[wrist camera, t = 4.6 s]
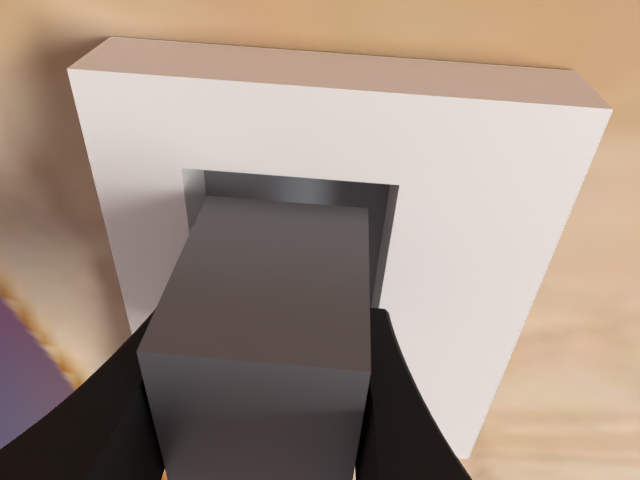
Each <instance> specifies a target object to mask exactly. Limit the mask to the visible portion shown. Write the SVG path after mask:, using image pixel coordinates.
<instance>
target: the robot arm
mask: <svg viewBox="0 0 640 480" xmlns="http://www.w3.org/2000/svg"><path fill="white" fill-rule="evenodd" d="M155 309H156V308H155ZM154 312H155V310H154V311H153V312H152V313H151V314H150V315H149V317H148V318H147V319H146V320H145V321H144V322H143V323H142V324H141V325H140V327H139V328H138V329H137V330H136V331H135V332H134V333H133V334H132V335H131V336H130V337H129V338H128V340H127V341H126V342H125V343H124V344H123V345H122V346H121V347H120V348H119V349H118V350H117V351H116V352H115V353H114V354H113V355H112V356H111V357H110V358H109V359H108V360H107V361H106V362H105V363H104V364H103V365H102V366H101V367H100V368H99V369H98V370H97V371H96V372H95V373H94V374H93V375H92V376H90V377H89V378H88V379H87V380H86V381H85V382H84V383H83V384H82V385H81V386H80V387H79V388H78V389H76V390H75V391H74V392H73V393H72V394H71V395H70V396H68V397H67V398H66V399H65V400H64V401H63V402H62V403H60V404H59V405H58V406H57V407H55V408H54V409H53V410H52V411H51V412H49V413H48V414H47V415H46V416H44V417H43V418H42V419H41V420H39V421H38V422H37V423H35V424H34V425H33V426H31V427H30V428H29V429H27V430H26V431H25V432H23V433H22V434H21V435H19V436H18V437H17V438H16V439H14V440H13V441H11V442H10V443H9V444H7V445H6V446H4V447H3V448H1V449H0V480H161V478H162V475H163V472H164V469H165V466H164V462H163V458H162V454H161V450H160V446H159V442H158V438H157V434H156V430H155V426H154V422H153V418H152V413H151V409H150V405H149V401H148V397H147V393H146V389H145V385H144V381H143V377H142V373H141V369H140V365H139V361H138V357H137V349H138V347H139V345H140V343H141V340H142V338H143V336H144V334H145V332H146V329H147V327H148V325H149V323H150V320H151V318H152V316H153V314H154ZM370 341H371V375H370V381H369V387H368V392H367V398H366V404H365V410H364V416H363V421H362V427H361V433H360V439H359V444H358V450H357V456H356V462H355V471H356V480H472V479H471V477H470V476H469V474H468V473H467V471H466V470H465V468H464V467H463V465H462V464H461V462H460V461H459V459H458V458H457V456H456V455H455V453H454V452H453V450H452V449H451V447H450V445H449V444H448V442H447V441H446V439H445V437H444V436H443V434H442V432H441V431H440V429H439V427H438V425H437V424H436V422H435V420H434V418H433V417H432V415H431V413H430V411H429V409H428V407H427V405H426V403H425V402H424V400H423V398H422V396H421V394H420V392H419V390H418V388H417V386H416V383H415V381H414V379H413V377H412V375H411V372H410V370H409V368H408V366H407V364H406V361H405V359H404V357H403V354H402V351H401V349H400V346H399V344H398V341H397V338H396V335H395V333H394V329H393V326H392V323H391V319H390V315H389V312H388V311H387V310H386V309H381V308H370Z"/></svg>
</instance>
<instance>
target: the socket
mask: <svg viewBox="0 0 640 480" xmlns="http://www.w3.org/2000/svg"><path fill="white" fill-rule="evenodd" d="M67 72H68V76H69V80H70V84H71V88H72V92H73V96H74V101H75V105H76V109H77V113H78V117H79V121H80V125H81V129H82V133H83V137H84V141H85V145H86V150H87V154H88V158H89V162H90V166H91V170H92V174H93V178H94V182H95V186H96V190H97V195H98V199H99V203H100V207H101V211H102V215H103V219H104V223H105V227H106V231H107V235H108V240H109V244H110V248H111V252H112V256H113V260H114V264H115V268H116V272H117V276H118V280H119V285H120V289H121V293H122V297H123V301H124V305H125V309H126V313H127V317H128V321H129V325H130V330H131V334H133V333H134V332H135V331H136V330H137V329H138V328H139V327H140V325H141V324H142V323H143V322H144V321H145V320H146V319H147V318H148V317H149V315H150V314H151V313H152V312H153V311H154V310H155V308H156V307H157V305H158V303H159V300H160V298H161V296H162V294H163V292H164V289H165V287H166V285H167V283H168V280H169V278H170V276H171V274H172V272H173V269H174V267H175V265H176V263H177V261H178V258H179V256H180V254H181V252H182V249H183V247H184V245H185V243H186V241H187V238H188V236H189V234H190V232H191V229H192V227H193V225H194V223H195V221H196V218H197V216H198V214H199V212H200V209H201V207H202V205H203V203H204V201H205V198H206V196H218V197H230V198H243V199H256V200H269V201H281V202H294V203H307V204H319V205H332V206H345V207H358V208H368V229H369V285H370V308H381V309H386V310H387V311H388V312H389V315H390V319H391V323H392V326H393V329H394V333H395V335H396V338H397V341H398V344H399V346H400V349H401V351H402V354H403V357H404V359H405V361H406V364H407V366H408V368H409V370H410V372H411V375H412V377H413V379H414V381H415V383H416V386H417V388H418V390H419V392H420V394H421V396H422V398H423V400H424V402H425V403H426V405H427V407H428V409H429V411H430V413H431V415H432V417H433V418H434V420H435V422H436V424H437V425H438V427H439V429H440V431H441V432H442V434H443V436H444V437H445V439H446V441H447V442H448V444H449V445H450V447H451V449H452V450H453V452H454V453H455V455H456V456H457V458H461V459H468V458H469V456H470V453H471V451H472V449H473V446H474V444H475V441H476V439H477V437H478V434H479V432H480V429H481V427H482V425H483V422H484V420H485V417H486V415H487V413H488V410H489V408H490V405H491V403H492V400H493V398H494V396H495V393H496V391H497V388H498V386H499V384H500V381H501V379H502V376H503V374H504V372H505V369H506V367H507V364H508V362H509V359H510V357H511V355H512V352H513V350H514V347H515V345H516V343H517V340H518V338H519V335H520V333H521V331H522V328H523V326H524V323H525V321H526V318H527V316H528V314H529V311H530V309H531V306H532V304H533V302H534V299H535V297H536V294H537V292H538V290H539V287H540V285H541V282H542V280H543V278H544V275H545V273H546V270H547V268H548V265H549V263H550V261H551V258H552V256H553V253H554V251H555V249H556V246H557V244H558V241H559V239H560V237H561V234H562V232H563V229H564V227H565V224H566V222H567V220H568V217H569V215H570V212H571V210H572V208H573V205H574V203H575V200H576V198H577V196H578V193H579V191H580V188H581V186H582V183H583V181H584V179H585V176H586V174H587V171H588V169H589V167H590V164H591V162H592V159H593V157H594V155H595V152H596V150H597V147H598V145H599V142H600V140H601V138H602V135H603V133H604V130H605V128H606V126H607V123H608V121H609V118H610V116H611V114H612V111H613V108H612V107H611V106H610V105H609V104H608V103H607V102H606V101H605V100H604V99H603V98H602V97H601V96H600V95H599V94H598V93H597V92H596V91H595V90H594V89H593V88H592V87H591V86H590V85H589V84H588V83H587V82H586V81H585V80H584V79H583V78H582V77H581V76H580V75H579V74H578V73H577V72H576V71H575V70H563V69H549V68H535V67H522V66H508V65H494V64H480V63H467V62H453V61H439V60H426V59H412V58H398V57H385V56H371V55H357V54H343V53H330V52H316V51H302V50H289V49H275V48H261V47H247V46H234V45H220V44H206V43H193V42H179V41H165V40H152V39H138V38H124V37H109V38H108V39H106V40H105V41H104V42H102V43H101V44H100V45H98V46H97V47H96V48H94V49H93V50H91V51H90V52H89V53H87V54H86V55H85V56H83V57H82V58H80V59H79V60H78V61H76V62H75V63H74V64H72V65H71V66H70V67H68V68H67Z"/></svg>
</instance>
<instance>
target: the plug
mask: <svg viewBox="0 0 640 480" xmlns="http://www.w3.org/2000/svg"><path fill="white" fill-rule="evenodd" d="M137 357H138V361H139V365H140V369H141V373H142V377H143V381H144V385H145V389H146V393H147V397H148V401H149V405H150V409H151V413H152V418H153V422H154V426H155V430H156V434H157V438H158V442H159V446H160V450H161V454H162V458H163V462H164V466H165V470H166V474H167V479H168V480H352V479H353V473H354V468H355V462H356V456H357V450H358V444H359V439H360V433H361V427H362V421H363V416H364V410H365V404H366V398H367V392H368V387H369V381H370V375H371V341H370V285H369V229H368V208H358V207H345V206H332V205H319V204H307V203H294V202H281V201H269V200H256V199H243V198H230V197H218V196H206V198H205V201H204V203H203V205H202V207H201V209H200V212H199V214H198V216H197V218H196V221H195V223H194V225H193V227H192V229H191V232H190V234H189V236H188V238H187V241H186V243H185V245H184V247H183V249H182V252H181V254H180V256H179V258H178V261H177V263H176V265H175V267H174V269H173V272H172V274H171V276H170V278H169V280H168V283H167V285H166V287H165V289H164V292H163V294H162V296H161V298H160V300H159V303H158V305H157V307H156V309H155V312H154V314H153V316H152V318H151V320H150V323H149V325H148V327H147V329H146V332H145V334H144V336H143V338H142V340H141V343H140V345H139V347H138V349H137Z"/></svg>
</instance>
